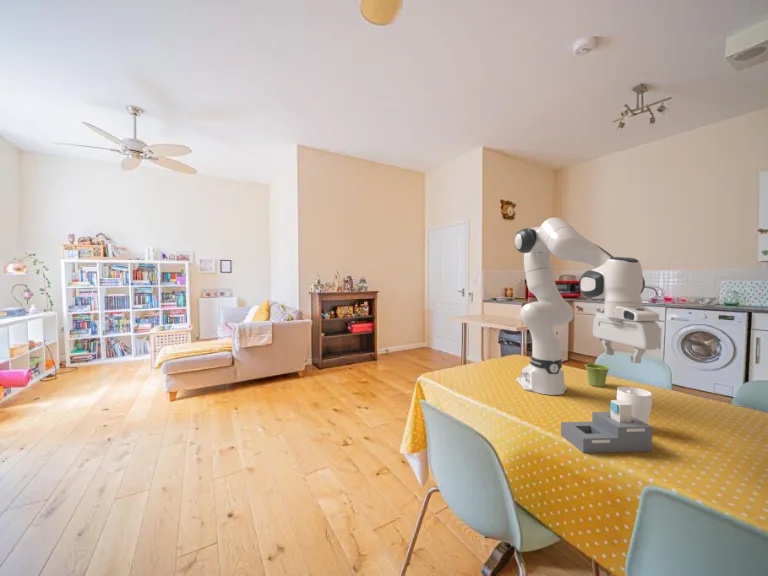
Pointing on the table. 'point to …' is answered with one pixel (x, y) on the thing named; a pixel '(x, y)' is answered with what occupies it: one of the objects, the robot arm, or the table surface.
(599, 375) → the plant pot
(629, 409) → the plug
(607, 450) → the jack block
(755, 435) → the table surface
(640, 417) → the cup
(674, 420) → the table surface
